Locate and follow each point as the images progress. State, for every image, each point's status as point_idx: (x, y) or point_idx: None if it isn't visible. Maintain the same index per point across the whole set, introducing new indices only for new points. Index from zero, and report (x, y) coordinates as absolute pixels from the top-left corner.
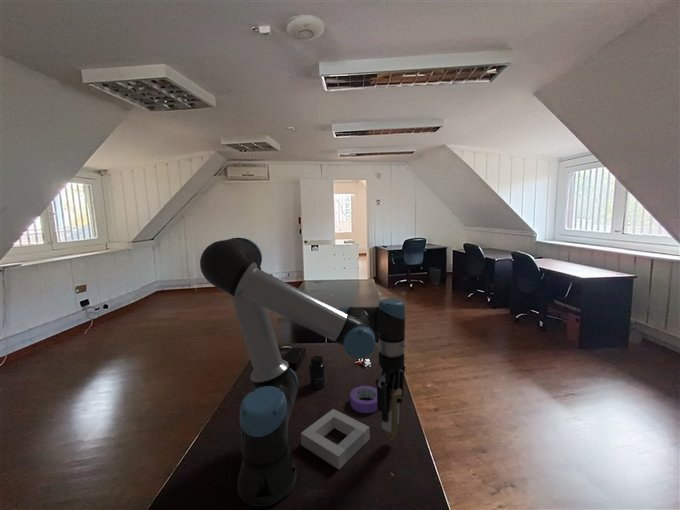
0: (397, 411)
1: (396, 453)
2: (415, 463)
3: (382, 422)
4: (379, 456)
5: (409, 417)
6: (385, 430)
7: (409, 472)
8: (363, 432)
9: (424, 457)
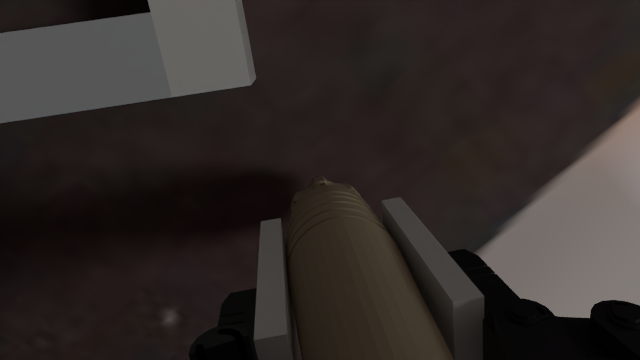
0: None
1: None
2: None
3: (259, 251)
4: (199, 212)
5: (587, 125)
6: (289, 220)
7: None
8: (166, 96)
9: None
